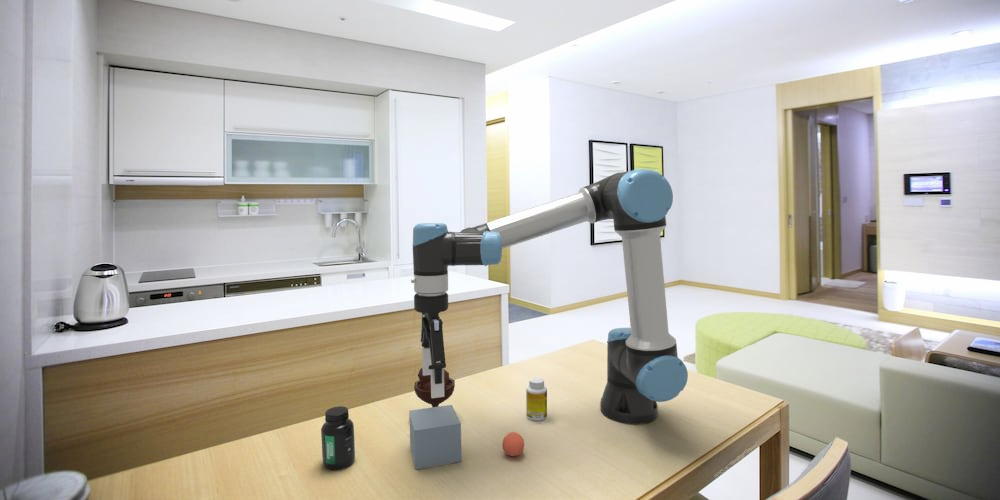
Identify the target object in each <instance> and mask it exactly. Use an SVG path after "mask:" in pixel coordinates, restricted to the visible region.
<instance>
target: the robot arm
mask: <svg viewBox="0 0 1000 500" xmlns="http://www.w3.org/2000/svg"><path fill="white" fill-rule="evenodd" d="M673 200H674V193H673V189H672V186H671V184H670V182H669V181H668V179H667V178H666V177H665V176H663V175H662V174H661V173H659V172H657V171H656V170H652V169H648V168H647V169H645V168H636V169H632V170H629V171H622V172H616V173H613V174H611V175H609V176H606V177H604V178H602V179H600V180H598V181H596V182H593V183H591V184H588V185H586V186H582V187H580V188H579V190H578V192H577V193H574V194H571V195H568V196H565V197H560V198H558V199H556V200H552V201H550V202H549V201H548V202H545V203H543V204H541V205H537V206H534V207H531V208H529V209H525V210H522V211H519V212H516V213H512V214H509V215H507V216H503V217H501V218H497V219H493V220H491V221H488V222H486V223H481V224H478V225H475V226H472V227H466V228H464V229H461V231H459V232H458V231H456V232H455V231H449V229H448V225H447V224H446V223H443V222H442V223H441V222H424V223H423V222H421V223H416V224H415V226H414V227H413V228H412V263H413V265H412V266H413V267H412V268H413V278H411V280H410V282H411V283H412V284H413V291H414V293H415V294H414V295H413V302H414V303H413V304H414V305H413V306H414V308H413V309H414V311H415V312H417V313H420V314H421V333H420V343H421V347H422V350H421V355H422V357H421V360H422V361H421V363H422V367H423V376H425V375H431V398H439V397H444V369H446V367H447V363H446V355H445V352H446V351H445V345H444V342H445V341H444V333H443V332H444V331H443V324H444V322H443V320H442V318H440V315H439V314H440V313H441V312H445V311H447V310H448V309H449V294H448V291H449V273H448V272H449V271H448V268H449V266H452V267H455V266H484V267H487V266H494V265H499V264H500V263H501V261H502V257H503V256H502V255H503V254H502V253H503V249H506V248H509V247H512V246H516V245H518V244H521V243H524V242H527V241H531V240H534V239H536V238H539V237H543V236H545V235H549V234H551V233H555V232H558V231H561V230H563V229H567V228H570V227H573V226H575V225H579V224H583V223H585V222H588V223H589V224H595V223H597V222H602V221H605V220H612V221H613V229H614V232H615V233H616V234H617V235H619V237H621V241H622V243H621V244H622V251H623V262H624V273H625V282H626V293H627V302H628V313H629V314H628V315H629V323H630V327H617V328H613V329H611V330H609V332H608V334H607V341H606V343H607V345H606V346H607V348H606V349H607V350H606V352H607V355H606V356H607V359H606V360H607V364H606V365H607V367H606V370H607V371H606V374H607V375H606V377H607V378H606V385H605V387H604V390H603V393H602V396H601V398H600V403H599V405H600V406H599V407H600V408H599V409H600V412H601V413H602V415H604V416H605V417H606V418H608V419H610V420H613V421H616V422H620V423H623V424H630V425H631V424H633V425H642V424H648V423H651V422H653V421H655V420H656V419H657V418H658V415H659V414H658V412H659V411H658V410H659V409H658V408H659V407H658V404H657V402H658V403H663V402H669V401H671V400H673V399H674V398H676V397H678V396H679V395H680V393H681V392H682V391H683V390H684V389H685V388H686V385H687V383H688V378H689V374H688V369H687V366H686V364H685V363H684V361H682V359H681V358H679V356H678V345H677V340H676V338H675V337H674V336H673V335H672V334H670V333H669V325H668V324H669V322H668V321H669V320H668V313H667V312H668V311H667V299H666V298H667V297H666V289H665V288H666V287H665V277H664V266H663V253H662V244H661V243H662V242H661V234H662V231H664V230H665V229H666V227H667V219H666V215H668V212H669V210H670V209H671V208H672V205H673V202H674V201H673ZM422 367H421V368H422Z"/></svg>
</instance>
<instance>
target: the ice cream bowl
mask: <svg viewBox="0 0 1000 500" xmlns="http://www.w3.org/2000/svg"><path fill="white" fill-rule="evenodd" d="M417 377H418V379H419V380H417V381H415V382H414V386H413V388H414V393H415V395H416V397H417V398H418V399H420V400H421V401H423V402H424V403H427V404H428V405H431V407H439V406H440V404H443V403H444V402H446V401H447V400H448V399H450V397H451V396H452V395H453V392H454V391H455V386H456V385H455V380H456V379H453V378H450V373H449V372H448V371H447V370H446V368H444V397H439V398H431V375H425V376H423V367H421V368H420V369H419V370H418V373H417Z"/></svg>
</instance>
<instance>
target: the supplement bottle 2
mask: <svg viewBox="0 0 1000 500" xmlns="http://www.w3.org/2000/svg"><path fill="white" fill-rule="evenodd" d="M528 381H529V382H528V384H527V386H526V390H525V392H526V393H525V394H526V395H525V396H526V399H525V404H526V405H525V409H526V411H525V412H526V413H525V415H526V417H527V418H528V420H532V421H536V422H537V421H543V420H545V419H547V416H548V388H547V386H546V385H545V380H544V378H541V377H531V378H530V379H528Z"/></svg>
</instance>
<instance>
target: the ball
mask: <svg viewBox="0 0 1000 500" xmlns="http://www.w3.org/2000/svg"><path fill="white" fill-rule="evenodd" d="M501 445H502V449H503V451H504V453H505V454H506V455H508V456H511V457H517V456H519V455H520V454H522V453H523V451H524V449H525V440H524V438H523V436H522V435H521V434H519V433H518V432H508V433H507V434H506V435H505V436H504V437H503V440H502V444H501Z"/></svg>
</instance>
